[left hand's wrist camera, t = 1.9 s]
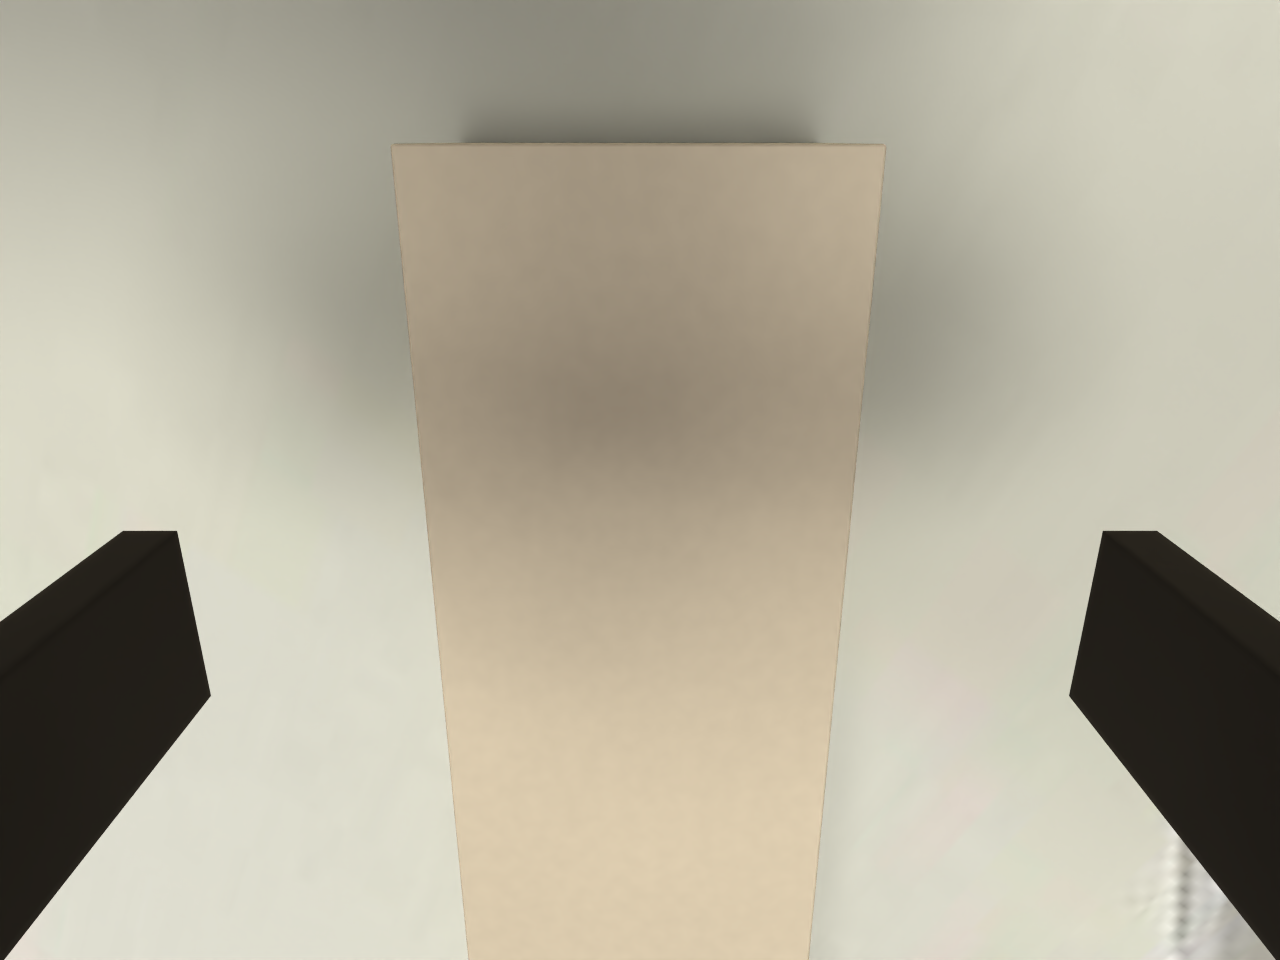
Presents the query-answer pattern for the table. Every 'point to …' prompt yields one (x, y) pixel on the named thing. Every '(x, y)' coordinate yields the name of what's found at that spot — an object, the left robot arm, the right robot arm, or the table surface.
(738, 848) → the thick board
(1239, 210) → the table surface
